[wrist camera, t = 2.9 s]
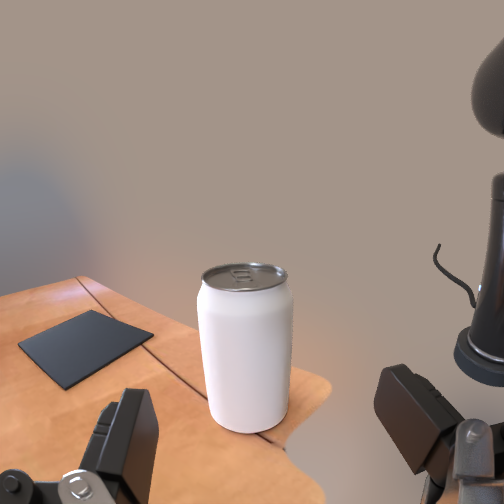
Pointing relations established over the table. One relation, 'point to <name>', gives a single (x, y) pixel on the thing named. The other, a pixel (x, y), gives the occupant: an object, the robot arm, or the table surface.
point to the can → (246, 344)
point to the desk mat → (82, 346)
